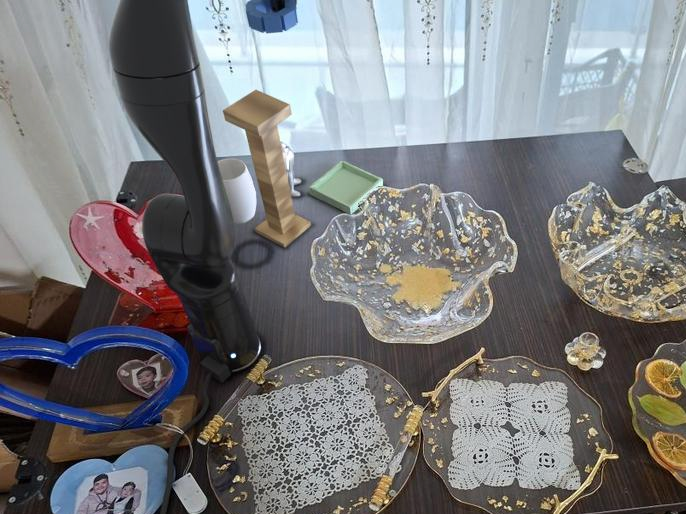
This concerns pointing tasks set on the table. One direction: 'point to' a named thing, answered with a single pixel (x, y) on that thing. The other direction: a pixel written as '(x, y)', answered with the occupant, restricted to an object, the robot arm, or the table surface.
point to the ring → (270, 16)
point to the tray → (344, 186)
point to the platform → (268, 163)
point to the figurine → (290, 169)
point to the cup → (238, 189)
